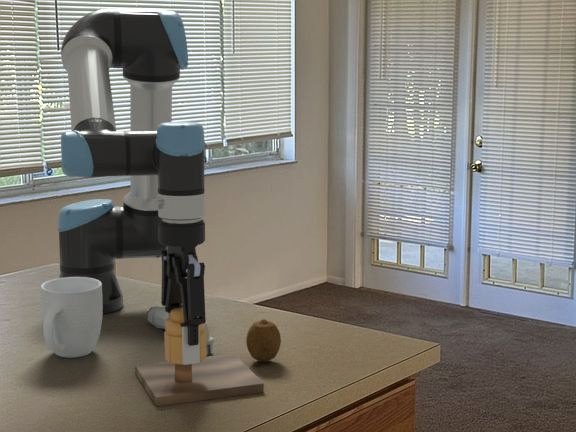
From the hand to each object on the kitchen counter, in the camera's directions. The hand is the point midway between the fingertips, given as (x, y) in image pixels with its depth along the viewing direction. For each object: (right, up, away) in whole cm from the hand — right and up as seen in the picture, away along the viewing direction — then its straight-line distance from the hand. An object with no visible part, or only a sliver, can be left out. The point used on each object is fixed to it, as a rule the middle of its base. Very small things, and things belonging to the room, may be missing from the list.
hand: (183, 356), depth 147 cm
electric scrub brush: (-4, -1, +27) cm, 28 cm away
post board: (+2, -5, +4) cm, 7 cm away
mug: (-23, -3, +18) cm, 29 cm away
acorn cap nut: (0, 0, 0) cm, 1 cm away
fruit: (+13, -4, +15) cm, 20 cm away
